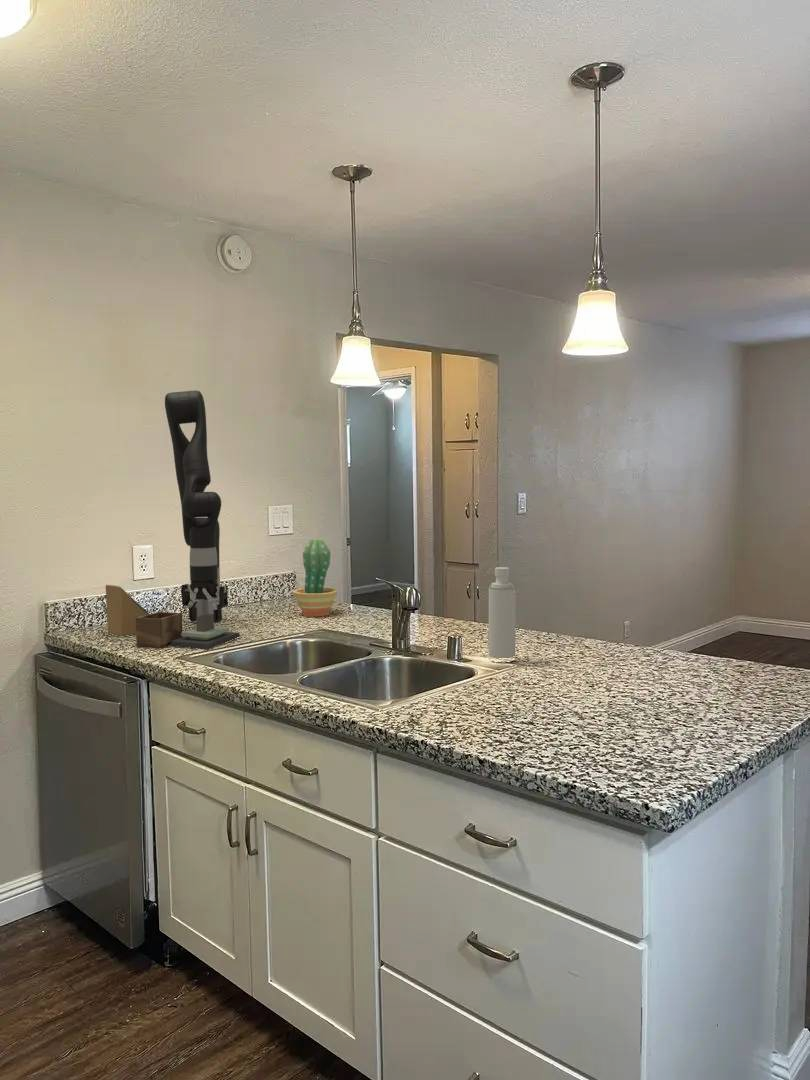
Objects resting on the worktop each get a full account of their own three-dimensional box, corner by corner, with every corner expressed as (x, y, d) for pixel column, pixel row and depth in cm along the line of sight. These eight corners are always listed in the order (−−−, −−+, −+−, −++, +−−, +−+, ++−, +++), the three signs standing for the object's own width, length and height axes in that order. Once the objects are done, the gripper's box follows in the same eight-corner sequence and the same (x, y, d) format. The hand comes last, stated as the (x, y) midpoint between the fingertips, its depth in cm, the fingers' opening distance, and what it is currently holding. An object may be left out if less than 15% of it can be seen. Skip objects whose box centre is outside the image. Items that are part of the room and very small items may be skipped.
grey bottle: (506, 664, 201) (507, 563, 199) (483, 660, 205) (483, 562, 203) (520, 659, 207) (520, 561, 204) (497, 655, 211) (497, 559, 208)
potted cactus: (348, 613, 273) (347, 539, 271) (314, 620, 262) (312, 542, 260) (317, 608, 283) (316, 536, 281) (282, 615, 272) (281, 540, 270)
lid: (203, 632, 237) (203, 611, 236) (229, 634, 234) (228, 613, 233) (181, 639, 227) (180, 618, 226) (207, 641, 224) (207, 620, 223)
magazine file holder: (168, 629, 249) (166, 581, 248) (122, 637, 238) (120, 586, 237) (153, 626, 255) (151, 578, 254) (107, 634, 244) (105, 584, 242)
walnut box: (159, 639, 235) (158, 611, 234) (182, 641, 232) (181, 613, 231) (136, 646, 225) (135, 617, 224) (160, 648, 222) (159, 619, 222)
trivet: (204, 635, 240) (204, 630, 240) (239, 637, 236) (239, 632, 236) (170, 646, 225) (170, 641, 225) (207, 649, 221) (207, 644, 221)
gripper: (233, 562, 229) (234, 620, 231) (189, 561, 234) (191, 618, 236) (218, 565, 222) (219, 625, 224) (173, 564, 227) (175, 622, 229)
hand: (205, 621), depth 230 cm, fingers open, 7 cm apart
